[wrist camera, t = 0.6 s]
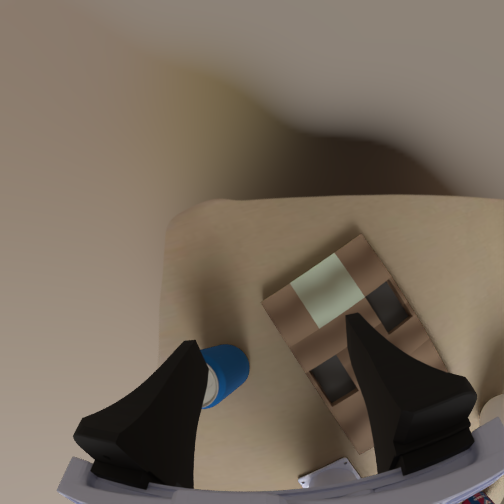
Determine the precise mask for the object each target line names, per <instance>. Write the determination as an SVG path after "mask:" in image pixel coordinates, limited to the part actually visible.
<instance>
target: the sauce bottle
mask: <svg viewBox="0 0 504 504" xmlns="http://www.w3.org/2000/svg"><path fill="white" fill-rule="evenodd" d="M496 417H499V418H500V420H501V422H502V424H503V426H504V394H501V395H498V396H495V397H493V398H492V399H490V400H489V401H488V402H487V403H486V404H485V405H484V407H483V409H482V411H481V414H480V418H479V426H482V425H484V424H485V423H487V422H489V421H491V420H492V419H494V418H496Z"/></svg>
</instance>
